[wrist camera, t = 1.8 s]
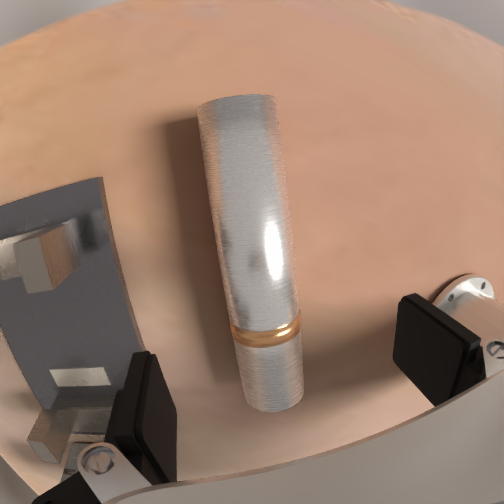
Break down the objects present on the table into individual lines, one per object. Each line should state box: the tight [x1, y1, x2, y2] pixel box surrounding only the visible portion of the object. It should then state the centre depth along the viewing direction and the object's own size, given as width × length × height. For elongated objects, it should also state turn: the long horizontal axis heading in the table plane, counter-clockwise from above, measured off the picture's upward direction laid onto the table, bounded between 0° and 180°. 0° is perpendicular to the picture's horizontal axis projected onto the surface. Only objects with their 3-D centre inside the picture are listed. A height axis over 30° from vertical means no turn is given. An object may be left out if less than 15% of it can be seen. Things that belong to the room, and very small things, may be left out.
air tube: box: [197, 94, 304, 412], centre depth 21 cm, size 22×5×5 cm, turn 7°
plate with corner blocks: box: [0, 177, 146, 464], centre depth 19 cm, size 14×24×8 cm, turn 7°
